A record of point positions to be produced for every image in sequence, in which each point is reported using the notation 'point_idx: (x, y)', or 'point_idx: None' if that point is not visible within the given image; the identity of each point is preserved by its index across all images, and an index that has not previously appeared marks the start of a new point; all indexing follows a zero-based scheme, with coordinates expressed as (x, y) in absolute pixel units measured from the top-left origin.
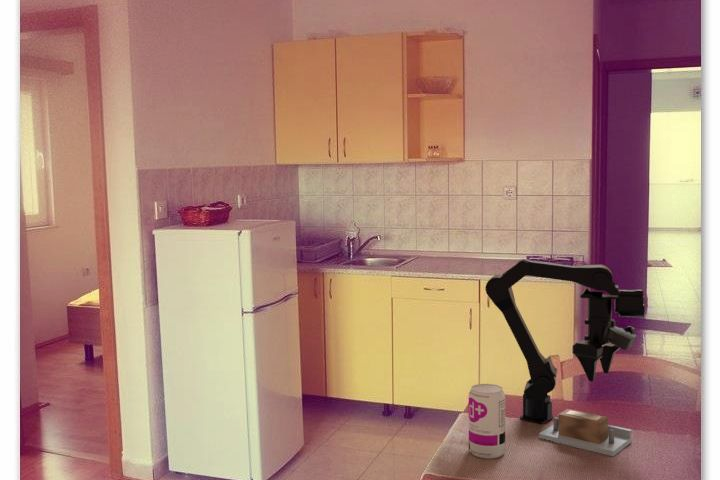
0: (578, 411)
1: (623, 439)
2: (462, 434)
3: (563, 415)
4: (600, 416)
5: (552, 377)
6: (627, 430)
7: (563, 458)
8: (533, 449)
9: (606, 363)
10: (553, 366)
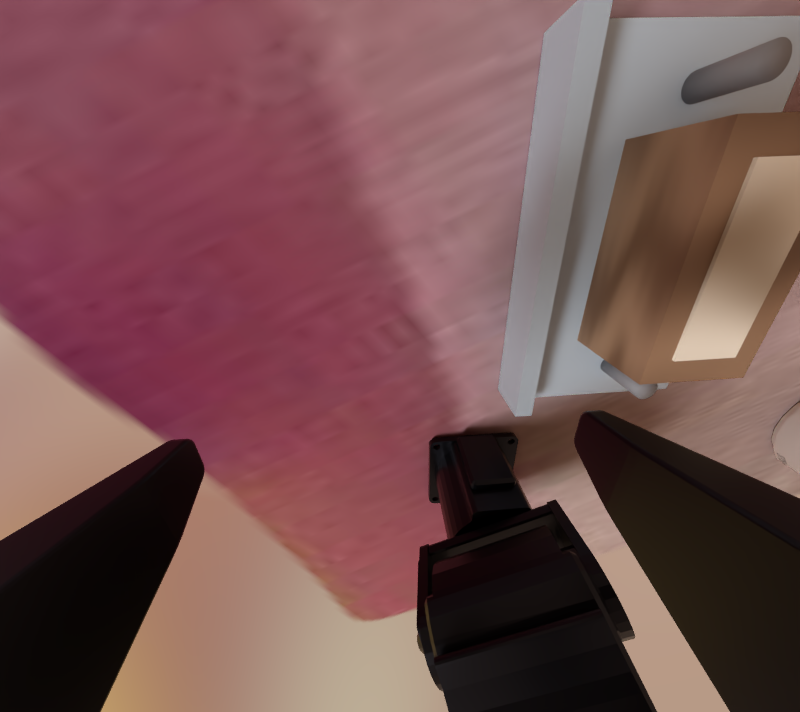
0: (666, 325)
1: (617, 48)
2: None
3: (754, 352)
4: (731, 173)
5: (605, 609)
6: (608, 16)
7: None
8: (763, 343)
9: (103, 570)
10: (477, 701)
